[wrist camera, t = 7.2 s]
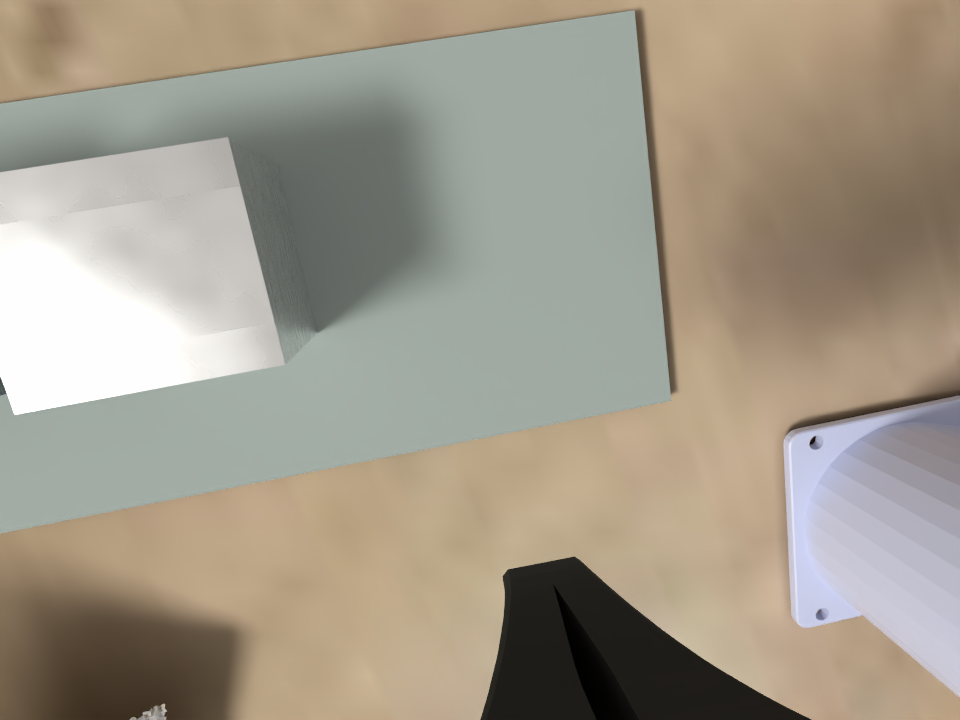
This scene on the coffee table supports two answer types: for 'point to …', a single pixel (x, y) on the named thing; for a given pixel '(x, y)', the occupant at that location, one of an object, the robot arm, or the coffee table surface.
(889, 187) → the coffee table surface
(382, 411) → the mat
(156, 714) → the grey slanted panel
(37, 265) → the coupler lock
